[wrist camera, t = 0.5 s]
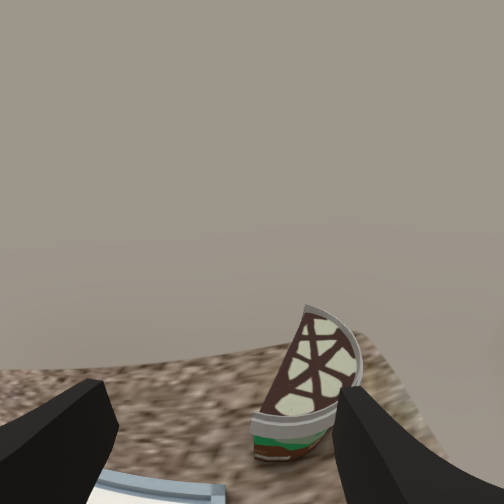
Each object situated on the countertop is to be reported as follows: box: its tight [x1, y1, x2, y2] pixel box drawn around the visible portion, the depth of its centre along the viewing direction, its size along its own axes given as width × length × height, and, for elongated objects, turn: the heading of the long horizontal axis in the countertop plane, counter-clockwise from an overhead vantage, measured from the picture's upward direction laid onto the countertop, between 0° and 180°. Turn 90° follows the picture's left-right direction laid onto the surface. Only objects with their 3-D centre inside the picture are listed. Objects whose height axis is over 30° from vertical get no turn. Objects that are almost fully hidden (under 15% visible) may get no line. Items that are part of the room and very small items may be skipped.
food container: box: [249, 303, 363, 462], centre depth 23 cm, size 12×6×10 cm, turn 157°
